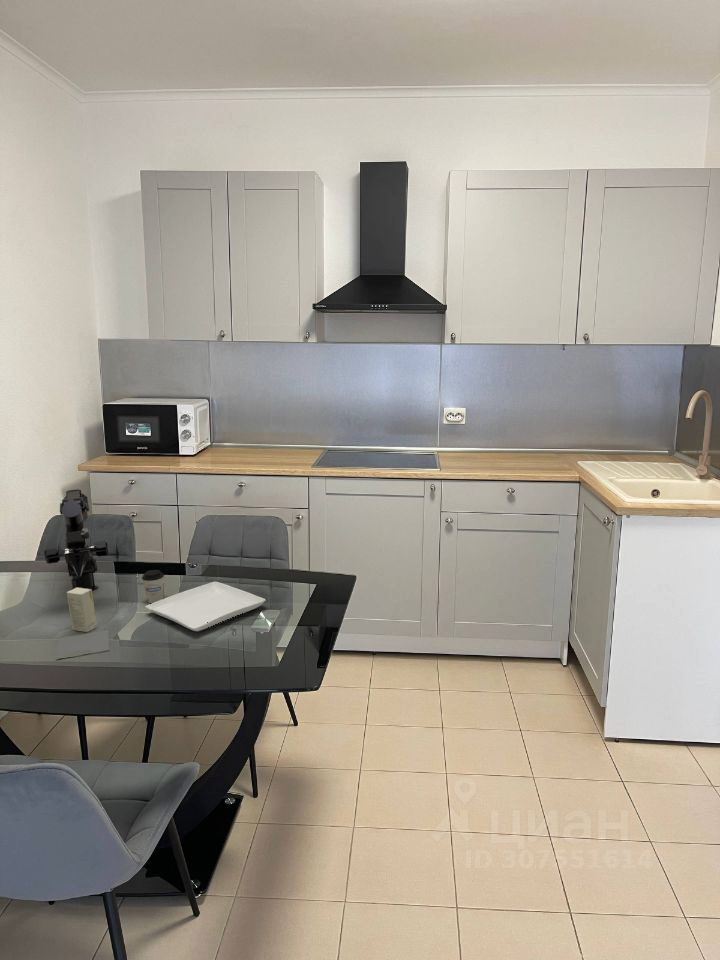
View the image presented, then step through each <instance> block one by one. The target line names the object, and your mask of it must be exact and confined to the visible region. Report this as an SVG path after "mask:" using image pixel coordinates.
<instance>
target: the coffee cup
mask: <svg viewBox="0 0 720 960" xmlns="http://www.w3.org/2000/svg"><path fill="white" fill-rule="evenodd" d="M141 576H142V577H141V579H142V582H143V585H144V589H145V593H146V597H147V601H148V604H150V603H154V602H157V601H159V600H162V599H164V577H165V575H164V573H163V572H162V571H161V570H160V569H151V570H147V571H145V573H144V574H143V575H141Z"/></svg>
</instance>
